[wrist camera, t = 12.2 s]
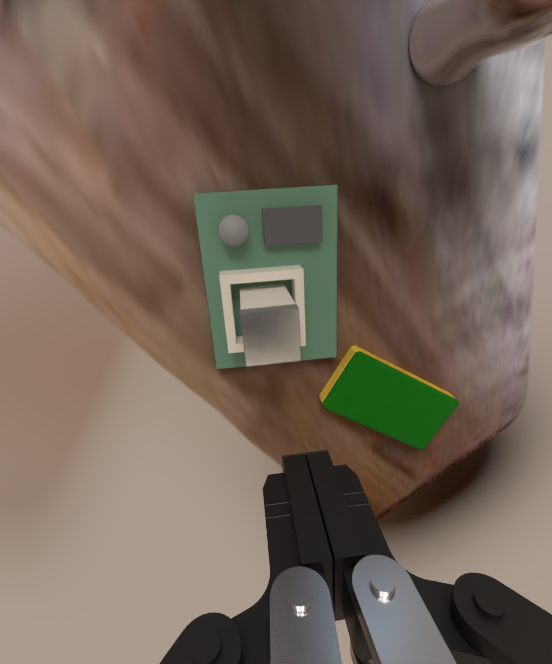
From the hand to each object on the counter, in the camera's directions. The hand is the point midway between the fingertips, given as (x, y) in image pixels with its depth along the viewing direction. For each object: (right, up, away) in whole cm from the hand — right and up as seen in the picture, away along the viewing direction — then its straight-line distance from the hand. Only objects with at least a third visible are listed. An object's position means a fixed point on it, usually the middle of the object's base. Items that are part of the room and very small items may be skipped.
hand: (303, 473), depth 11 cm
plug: (-2, +7, +21) cm, 22 cm away
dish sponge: (+11, -2, +28) cm, 30 cm away
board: (-1, +10, +21) cm, 23 cm away
